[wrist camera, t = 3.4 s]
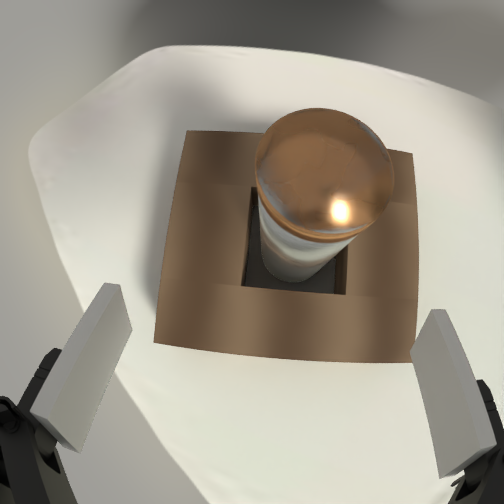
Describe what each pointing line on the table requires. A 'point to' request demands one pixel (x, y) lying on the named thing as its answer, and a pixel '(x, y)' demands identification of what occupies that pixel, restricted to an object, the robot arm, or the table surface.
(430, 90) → the table surface
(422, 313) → the table surface
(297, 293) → the pocket block
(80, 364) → the robot arm
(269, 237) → the steel peg
